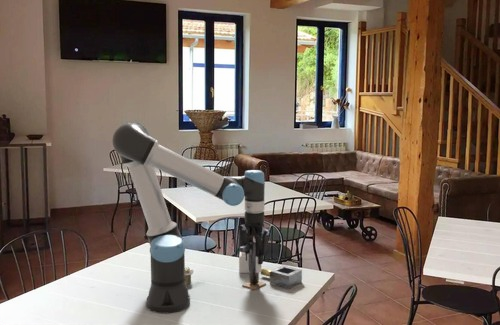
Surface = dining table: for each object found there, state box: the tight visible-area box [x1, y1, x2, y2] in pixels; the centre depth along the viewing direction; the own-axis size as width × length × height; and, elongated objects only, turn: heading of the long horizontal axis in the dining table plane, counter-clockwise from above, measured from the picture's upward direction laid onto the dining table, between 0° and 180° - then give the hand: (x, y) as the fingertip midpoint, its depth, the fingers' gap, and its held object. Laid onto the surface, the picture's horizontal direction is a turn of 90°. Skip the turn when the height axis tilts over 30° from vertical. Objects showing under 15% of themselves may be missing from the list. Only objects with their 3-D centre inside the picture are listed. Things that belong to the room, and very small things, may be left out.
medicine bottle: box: [238, 252, 249, 274], centre depth 212 cm, size 7×7×12 cm
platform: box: [185, 266, 194, 285], centre depth 196 cm, size 12×18×7 cm, turn 109°
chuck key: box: [238, 240, 260, 284], centre depth 192 cm, size 10×4×16 cm, turn 142°
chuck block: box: [260, 264, 303, 290], centre depth 200 cm, size 9×16×5 cm, turn 52°
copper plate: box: [241, 281, 267, 291], centre depth 196 cm, size 7×6×1 cm
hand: (254, 270), depth 195 cm, fingers closed on chuck key, 3 cm apart
